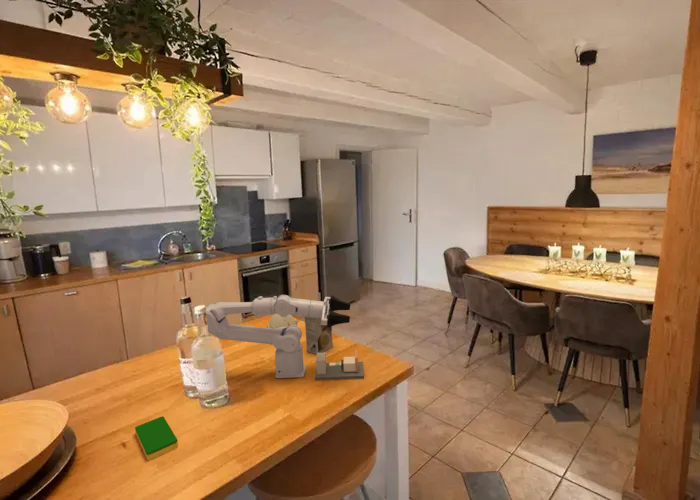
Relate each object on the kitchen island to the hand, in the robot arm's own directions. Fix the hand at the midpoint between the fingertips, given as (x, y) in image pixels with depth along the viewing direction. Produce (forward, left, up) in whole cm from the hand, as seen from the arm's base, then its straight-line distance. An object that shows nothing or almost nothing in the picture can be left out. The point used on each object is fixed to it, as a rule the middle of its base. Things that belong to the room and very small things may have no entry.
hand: (350, 313), depth 126 cm
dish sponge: (-52, -33, -22) cm, 65 cm away
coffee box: (-13, +18, -21) cm, 31 cm away
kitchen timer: (-29, +32, -21) cm, 48 cm away
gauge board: (-4, -1, -21) cm, 21 cm away
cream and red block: (-1, 0, -20) cm, 20 cm away
